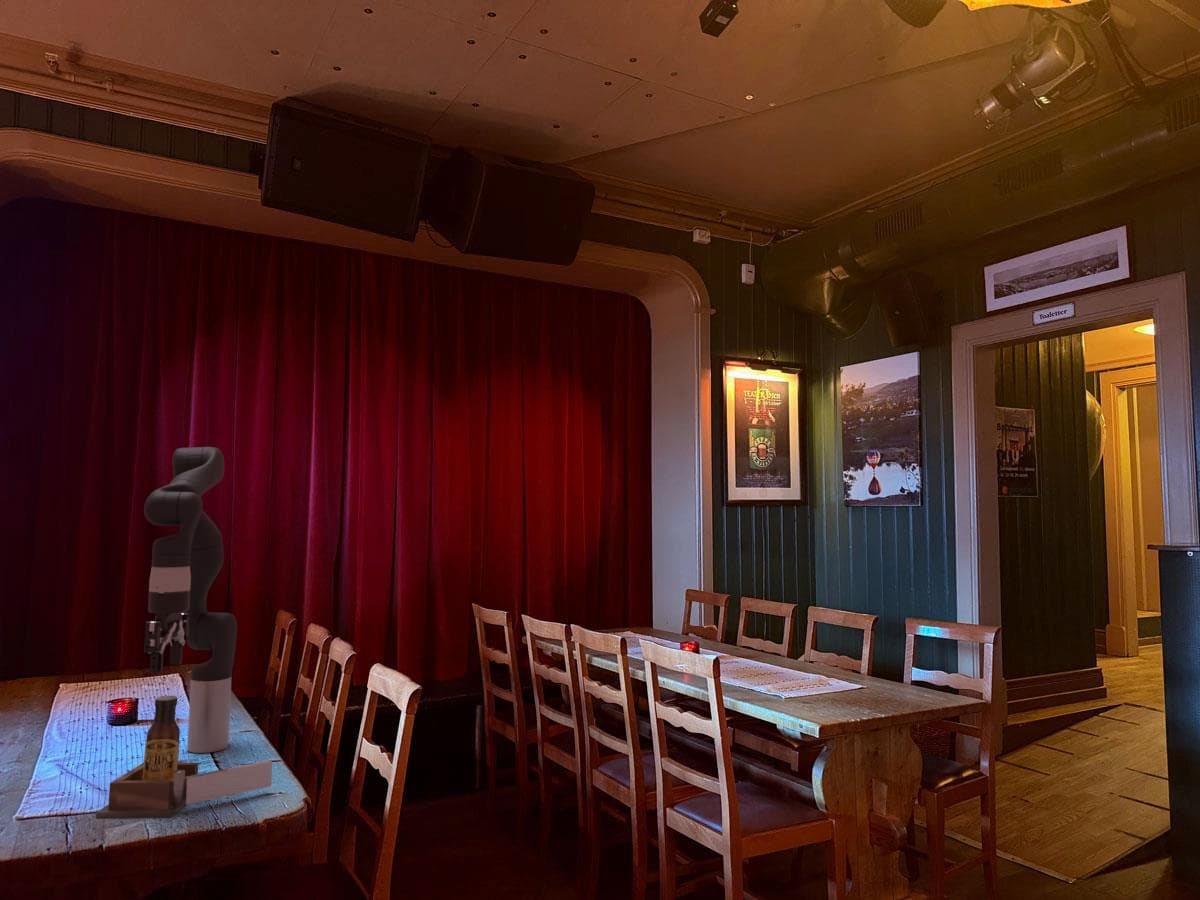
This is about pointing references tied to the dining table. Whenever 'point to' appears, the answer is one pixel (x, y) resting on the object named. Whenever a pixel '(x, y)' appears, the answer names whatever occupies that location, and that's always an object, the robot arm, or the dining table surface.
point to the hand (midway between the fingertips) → (165, 668)
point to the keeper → (220, 783)
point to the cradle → (142, 795)
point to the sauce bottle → (162, 742)
